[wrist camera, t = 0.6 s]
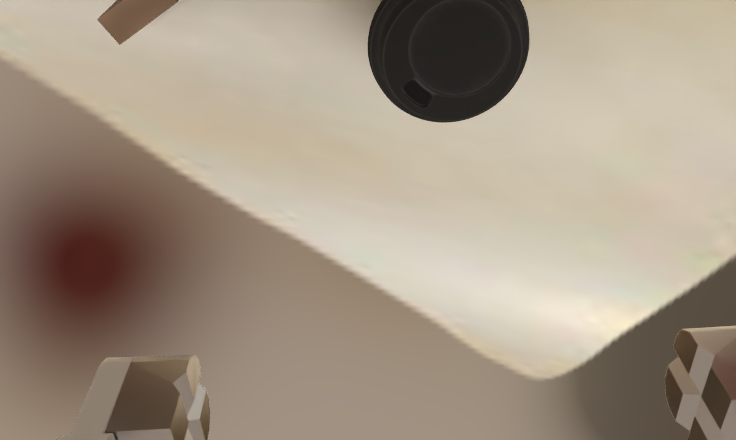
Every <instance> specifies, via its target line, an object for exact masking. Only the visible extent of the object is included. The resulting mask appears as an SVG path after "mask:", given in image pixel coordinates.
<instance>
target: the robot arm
mask: <svg viewBox="0 0 736 440" xmlns="http://www.w3.org/2000/svg"><path fill="white" fill-rule="evenodd" d="M673 347H674V349H675V351H676V352H677V354H678V357H677V358H676V359H675V360H674V361H673V362H671V363H670V364H669V365H668V368H667V372H666V377H665V392H666V398H667V402H668V405H669V408H670V410H671V412H672V415H673V416H674V418H675V420H676V421H677V422H678V423H680V424H681V425H682V426H684V427H685V428H687V429H688V430H689V431H690V433H689V437H688V440H736V326H725V327H708V328H691V329H681V330H680V332H679V333H678V334H677V335H676V338H675V342H674V345H673ZM200 375H201V368H200V364H199V361H198V358H197V357H196V356H194V355H169V356H137V357H124V358H123V357H121V358H120V357H119V358H106V359H105V360H104V361H103V362H102V363H101V364H100V365H99V368H98V370H97V372H96V375H95V377H94V379H93V382H92V384H91V387H90V389H89V391H88V393H87V396H86V398H85V401H84V403H83V406H82V407H81V410H80V412H79V415H78V417H77V419H76V421H75V424H74V426H73V428H72V431H71V433H70V435H65V436H60V437H59V438H58V439H56V440H207V439H208V434H209V425H210V407H209V398H208V395H207V390H206V389H205V388H204V387H203V386H201V385H200V384H199V379H200Z"/></svg>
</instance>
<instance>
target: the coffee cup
mask: <svg viewBox="0 0 736 440" xmlns="http://www.w3.org/2000/svg"><path fill="white" fill-rule="evenodd" d="M528 50H529V27H528V20H527V16H526V12H525V10H524V7H523V5H522V3H521V0H382V1H381V3H380V5H379V7H378V8H377V10H376V12H375V15H374V17H373V20H372V23H371V26H370V30H369V36H368V57H369V62H370V66H371V70H372V72H373V75H374V77H375V79H376V81H377V83H378V85H379V86H380V88H381V89H382V91H383V92H384V94H385V95H386V96H387V97H388V98H389V99H390V101H391V102H393V103H394V104H395V105H396V106H397V107H398V108H400V109H401V110H403V111H404V112H406V113H408V114H410V115H412V116H414V117H417V118H420V119H423V120H427V121H432V122H455V121H461V120H465V119H469V118H472V117H474V116H477V115H479V114H481V113H483V112H485V111H487V110H489V109H490V108H492V107H493V106H495V105H496V104H497V103H498V102H500V101H501V100H502V99H503V98H504V97H505V96H506V95H507V94H508V93H509V92H510V90H511V89H512V88H513V86H514V85H515V84H516V82H517V80H518V79H519V77H520V75H521V73H522V71H523V68H524V66H525V63H526V60H527V55H528Z"/></svg>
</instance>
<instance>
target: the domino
mask: <svg viewBox="0 0 736 440" xmlns="http://www.w3.org/2000/svg"><path fill="white" fill-rule="evenodd" d="M177 2H178V0H117V1H116V2H115V3H114V4H113V5H112V6H111V7H109V8H108V9H107V10H106V11H105V12H104V13H103V14H102V15H101V16H100V17H99V18H98V19H97V20H98V21H99V22H100V23H101V24H102V25H103V27H104V28H105V29H106V30H107V31H108V32H109V33H110V34H111V36H112V37H113V38H114V39H115V40H116V41H117V42H118V43H119V45H120V44H122V43H123V42H124V41H126V40H127V39H128V38H130V37H131V36H132V35H134V34H135V33H136V32H138V31H139V30H140V29H142V28H143V27H144V26H146V25H147V24H148V23H150V22H151V21H153V20H154V19H155V18H157V17H158V16H159V15H161V14H162V13H163V12H165V11H166V10H167V9H169V8H170V7H171V6H173V5H174V4H175V3H177Z"/></svg>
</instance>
